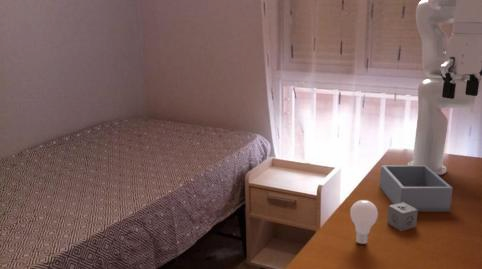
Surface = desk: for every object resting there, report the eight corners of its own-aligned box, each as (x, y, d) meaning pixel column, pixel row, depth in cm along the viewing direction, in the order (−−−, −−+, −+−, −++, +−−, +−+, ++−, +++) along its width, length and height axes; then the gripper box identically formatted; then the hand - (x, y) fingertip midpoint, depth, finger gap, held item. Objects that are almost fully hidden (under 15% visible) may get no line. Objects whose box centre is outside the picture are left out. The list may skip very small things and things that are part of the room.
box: (379, 186, 143) (381, 165, 141) (423, 186, 143) (426, 165, 141) (399, 211, 126) (401, 188, 124) (449, 211, 126) (452, 188, 124)
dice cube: (387, 223, 119) (388, 205, 118) (401, 219, 121) (403, 202, 120) (400, 231, 115) (402, 213, 114) (415, 227, 117) (417, 209, 116)
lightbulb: (375, 239, 111) (379, 197, 108) (374, 252, 105) (378, 208, 102) (349, 234, 113) (352, 194, 110) (346, 247, 107) (349, 204, 104)
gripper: (475, 29, 123) (467, 92, 127) (433, 29, 115) (426, 97, 119) (502, 30, 117) (492, 96, 121) (460, 30, 108) (451, 101, 113)
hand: (459, 96), depth 120 cm, fingers open, 9 cm apart
